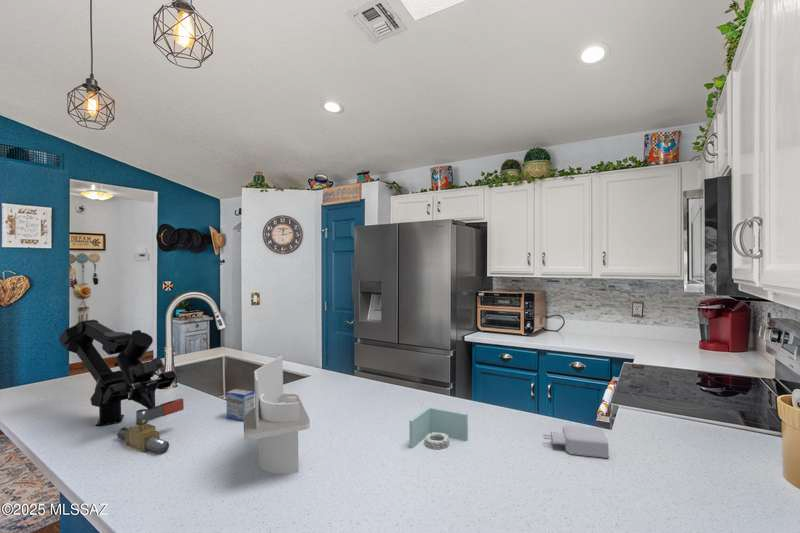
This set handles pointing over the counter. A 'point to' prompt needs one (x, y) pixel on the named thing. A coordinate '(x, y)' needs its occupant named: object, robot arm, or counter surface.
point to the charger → (582, 441)
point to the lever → (158, 411)
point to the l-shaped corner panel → (438, 427)
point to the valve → (143, 438)
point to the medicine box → (239, 403)
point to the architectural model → (275, 420)
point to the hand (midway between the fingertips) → (153, 409)
